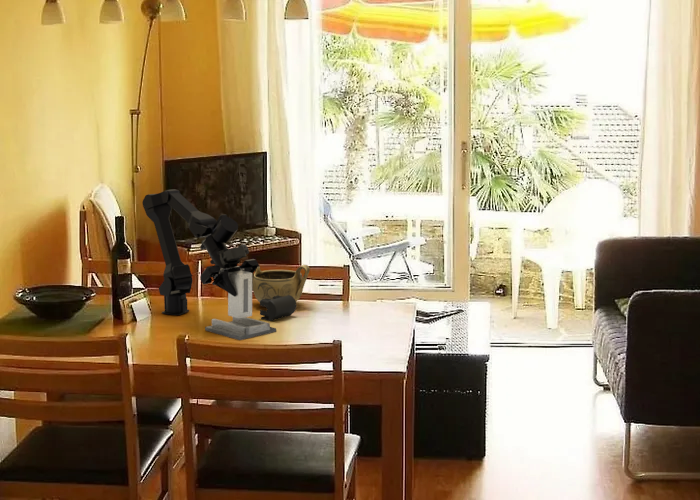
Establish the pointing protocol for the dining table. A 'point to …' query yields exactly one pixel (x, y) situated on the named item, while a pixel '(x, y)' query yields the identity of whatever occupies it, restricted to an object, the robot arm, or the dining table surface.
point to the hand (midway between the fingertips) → (242, 294)
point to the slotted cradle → (240, 328)
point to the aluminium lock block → (240, 294)
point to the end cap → (277, 307)
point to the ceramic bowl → (279, 283)
